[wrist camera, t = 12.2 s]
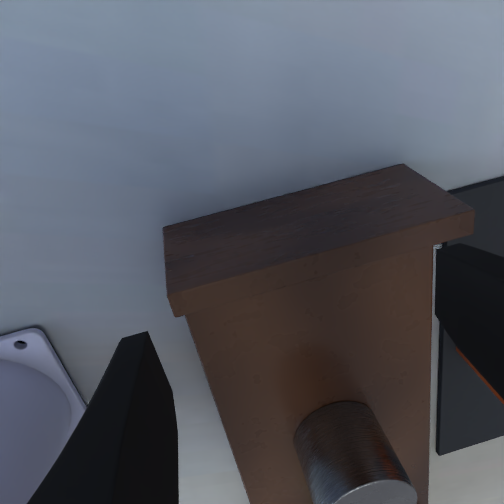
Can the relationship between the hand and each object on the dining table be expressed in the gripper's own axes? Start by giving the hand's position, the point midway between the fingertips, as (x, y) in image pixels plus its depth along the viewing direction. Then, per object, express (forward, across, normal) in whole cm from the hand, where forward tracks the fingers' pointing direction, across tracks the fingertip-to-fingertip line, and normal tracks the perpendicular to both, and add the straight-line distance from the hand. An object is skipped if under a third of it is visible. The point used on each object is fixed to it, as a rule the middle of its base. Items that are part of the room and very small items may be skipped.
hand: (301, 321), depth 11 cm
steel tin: (+7, -2, +14) cm, 16 cm away
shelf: (+9, -2, +14) cm, 17 cm away
